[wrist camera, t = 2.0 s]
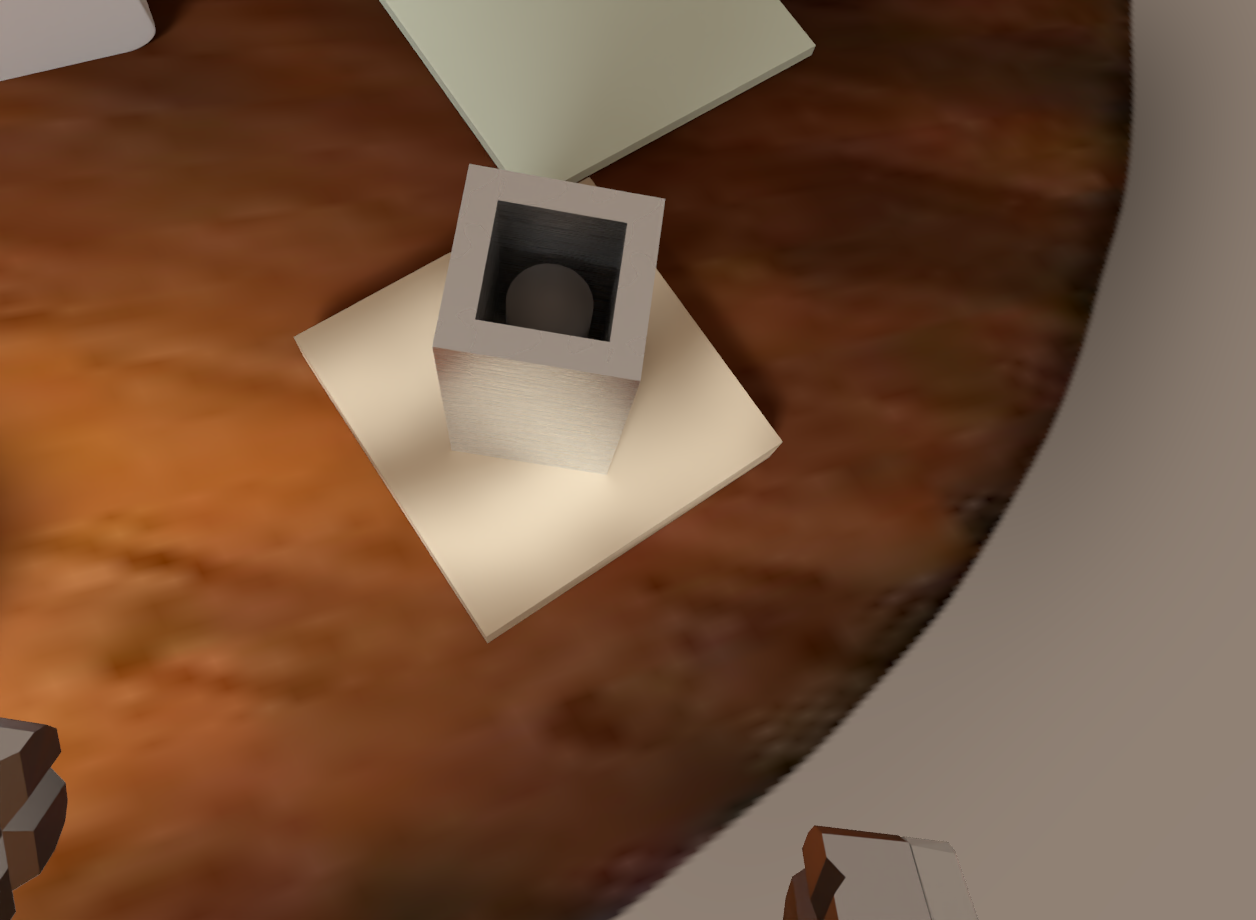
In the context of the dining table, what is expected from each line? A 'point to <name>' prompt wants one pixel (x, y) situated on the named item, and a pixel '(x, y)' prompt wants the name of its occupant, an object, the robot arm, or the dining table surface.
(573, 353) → the steel sleeve
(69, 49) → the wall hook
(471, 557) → the peg stand
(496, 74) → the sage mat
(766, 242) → the dining table surface
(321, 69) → the dining table surface
